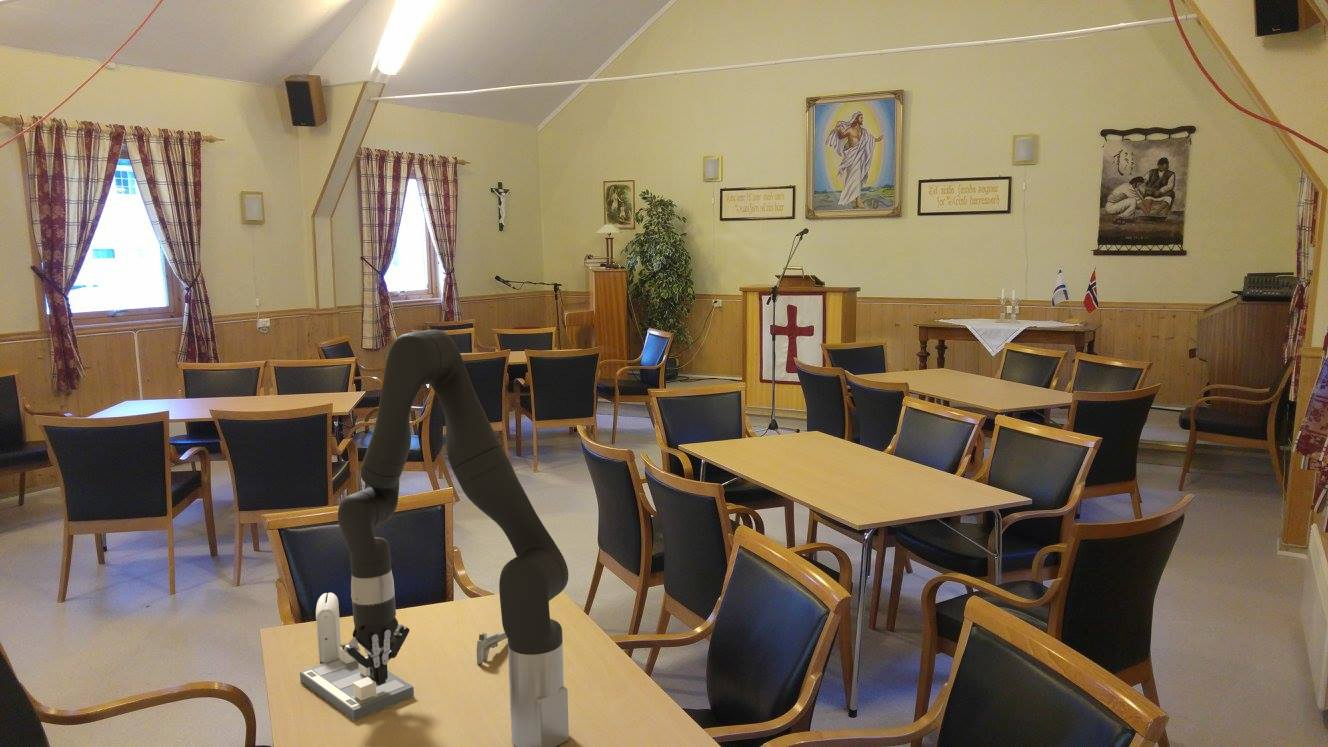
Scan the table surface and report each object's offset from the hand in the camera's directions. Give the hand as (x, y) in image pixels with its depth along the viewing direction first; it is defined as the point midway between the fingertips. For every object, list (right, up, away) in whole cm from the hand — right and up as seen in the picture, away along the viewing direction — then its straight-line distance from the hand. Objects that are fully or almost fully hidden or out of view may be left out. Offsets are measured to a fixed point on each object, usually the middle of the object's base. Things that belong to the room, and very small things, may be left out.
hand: (379, 683), depth 168 cm
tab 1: (-10, 0, +13) cm, 16 cm away
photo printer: (-17, -1, +21) cm, 27 cm away
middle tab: (-4, 0, +7) cm, 8 cm away
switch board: (-6, -3, +5) cm, 9 cm away
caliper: (+19, 0, +24) cm, 31 cm away
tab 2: (-2, -1, -2) cm, 3 cm away
